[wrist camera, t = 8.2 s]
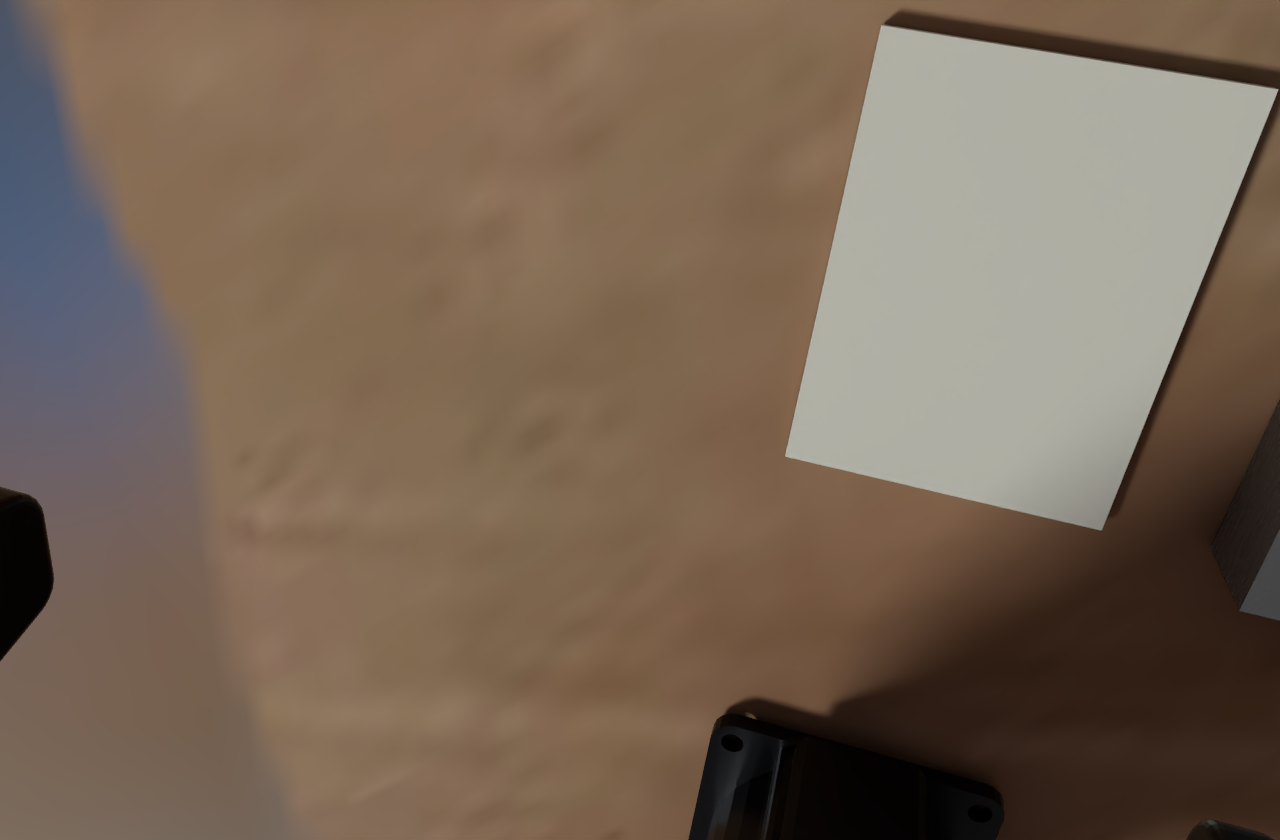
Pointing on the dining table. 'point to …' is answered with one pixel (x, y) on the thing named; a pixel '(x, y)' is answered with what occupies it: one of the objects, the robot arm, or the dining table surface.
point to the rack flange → (1255, 531)
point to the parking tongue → (1015, 267)
